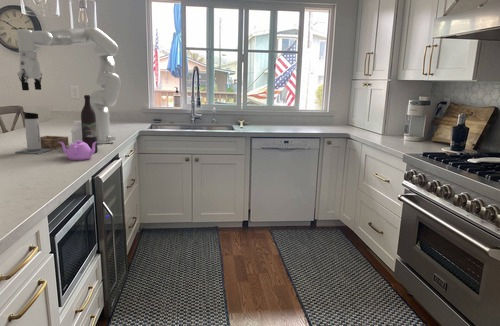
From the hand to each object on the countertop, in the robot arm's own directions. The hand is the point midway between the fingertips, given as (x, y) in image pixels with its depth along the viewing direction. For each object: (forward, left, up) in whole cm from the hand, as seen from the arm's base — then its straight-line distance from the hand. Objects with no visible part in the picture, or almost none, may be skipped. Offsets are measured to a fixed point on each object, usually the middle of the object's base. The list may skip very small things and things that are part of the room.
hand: (32, 90), depth 187 cm
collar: (0, -11, -32) cm, 34 cm away
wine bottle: (-29, -1, -32) cm, 43 cm away
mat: (-1, +4, -32) cm, 32 cm away
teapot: (-31, +13, -32) cm, 47 cm away
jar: (-19, -12, -32) cm, 39 cm away
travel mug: (-1, +4, -31) cm, 31 cm away
